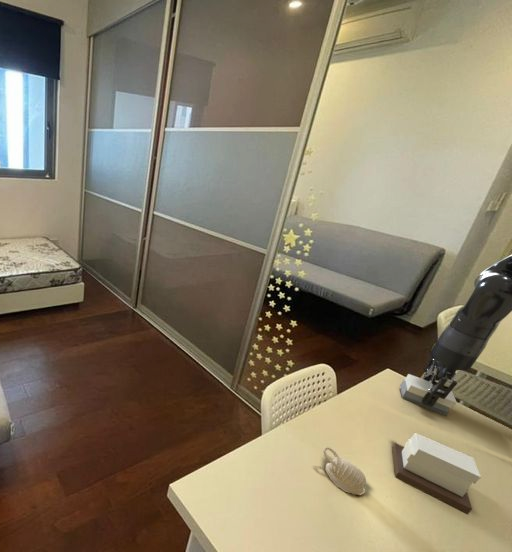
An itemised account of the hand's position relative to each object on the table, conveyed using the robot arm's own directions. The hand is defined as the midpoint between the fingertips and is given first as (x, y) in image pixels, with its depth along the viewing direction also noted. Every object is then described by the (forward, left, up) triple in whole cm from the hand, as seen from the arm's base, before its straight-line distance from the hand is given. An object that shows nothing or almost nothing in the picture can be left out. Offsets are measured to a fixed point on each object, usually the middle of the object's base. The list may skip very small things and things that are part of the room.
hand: (424, 396), depth 85 cm
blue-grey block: (0, 0, -3) cm, 3 cm away
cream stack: (+2, +28, -3) cm, 28 cm away
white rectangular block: (0, 0, +1) cm, 1 cm away
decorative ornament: (+17, +41, -3) cm, 44 cm away
